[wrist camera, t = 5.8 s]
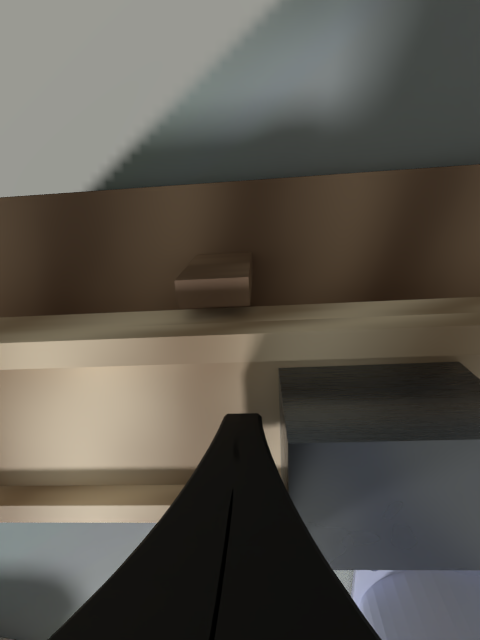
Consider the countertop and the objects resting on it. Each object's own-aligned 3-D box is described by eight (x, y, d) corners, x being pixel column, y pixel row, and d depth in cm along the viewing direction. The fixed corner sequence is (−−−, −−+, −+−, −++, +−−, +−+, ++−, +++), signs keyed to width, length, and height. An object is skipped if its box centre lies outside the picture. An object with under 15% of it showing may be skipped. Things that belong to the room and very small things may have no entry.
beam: (688, 287, 9) (809, 316, 7) (604, 470, 12) (676, 529, 10) (-175, 325, 11) (-271, 356, 9) (-87, 476, 14) (-147, 527, 12)
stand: (674, 151, 11) (923, 130, 7) (551, 472, 16) (649, 569, 12) (-155, 208, 13) (-339, 219, 9) (-26, 473, 18) (-107, 555, 14)
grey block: (459, 361, 9) (547, 438, 6) (436, 470, 11) (500, 570, 8) (278, 368, 10) (288, 443, 7) (281, 472, 11) (289, 569, 8)
